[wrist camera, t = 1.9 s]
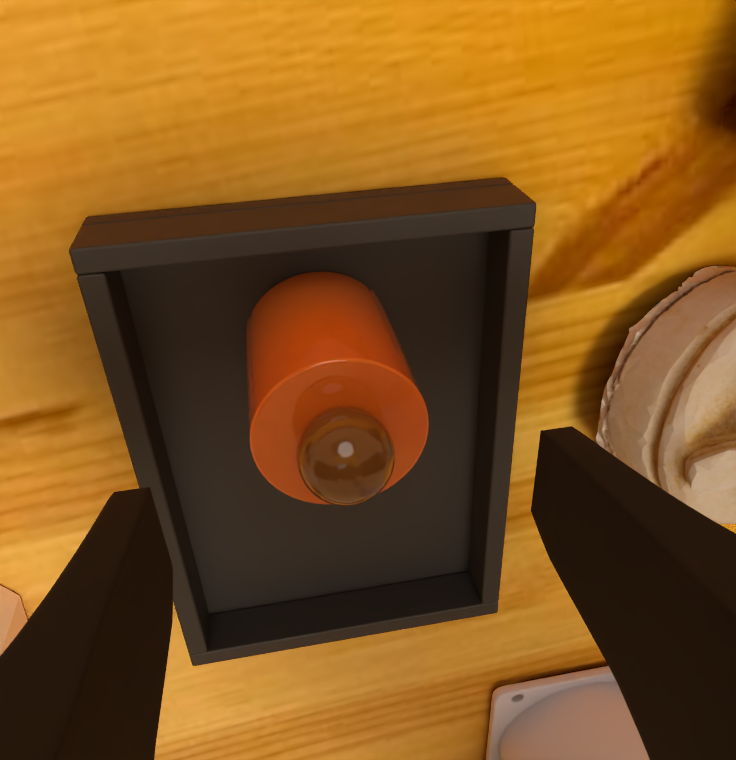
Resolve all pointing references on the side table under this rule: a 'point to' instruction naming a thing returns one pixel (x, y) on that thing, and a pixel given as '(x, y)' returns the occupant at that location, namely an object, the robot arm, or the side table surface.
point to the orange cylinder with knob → (330, 392)
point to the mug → (10, 617)
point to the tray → (230, 405)
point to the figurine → (680, 395)
